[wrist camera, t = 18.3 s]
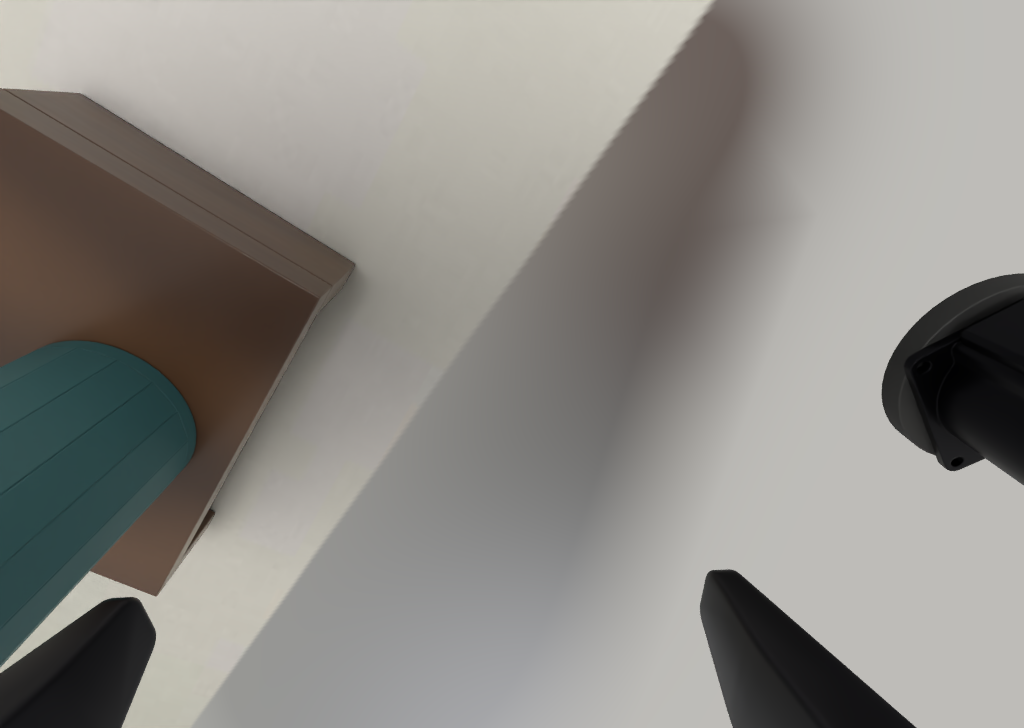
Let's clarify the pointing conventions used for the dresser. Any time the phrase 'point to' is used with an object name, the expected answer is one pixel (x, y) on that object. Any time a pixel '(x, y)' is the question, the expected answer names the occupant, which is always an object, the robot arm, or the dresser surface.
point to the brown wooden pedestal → (152, 289)
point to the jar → (77, 468)
